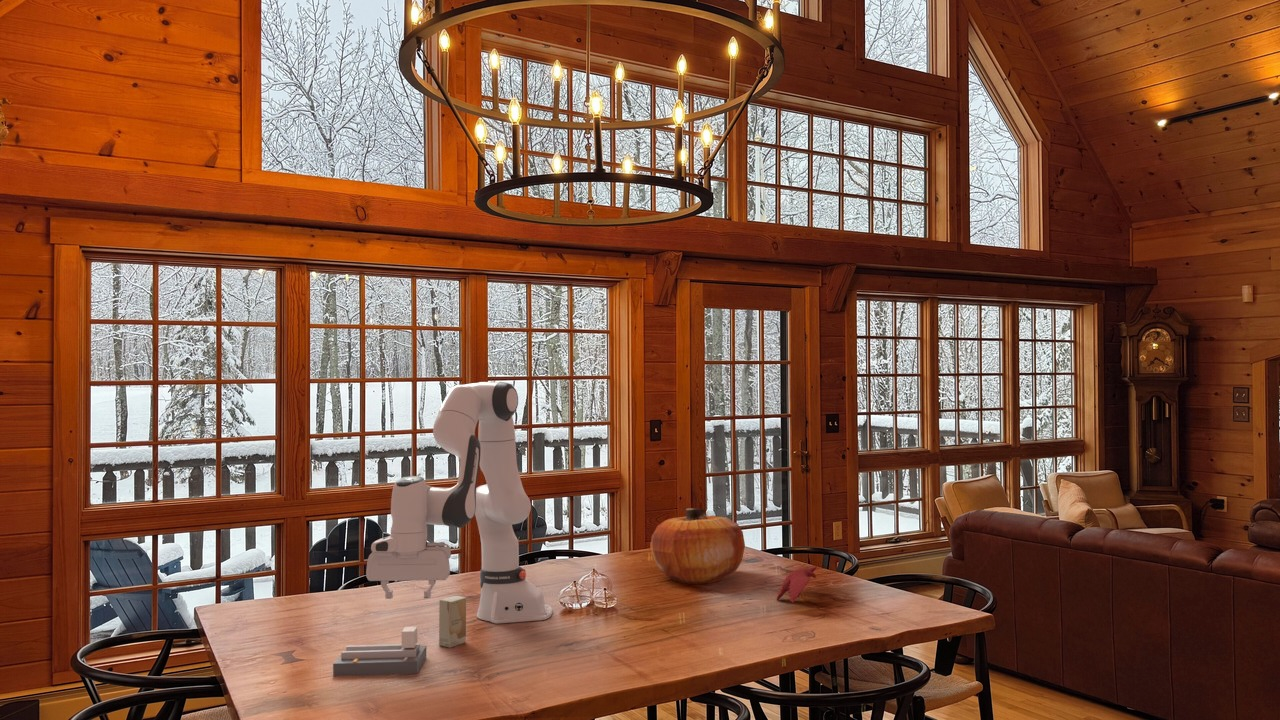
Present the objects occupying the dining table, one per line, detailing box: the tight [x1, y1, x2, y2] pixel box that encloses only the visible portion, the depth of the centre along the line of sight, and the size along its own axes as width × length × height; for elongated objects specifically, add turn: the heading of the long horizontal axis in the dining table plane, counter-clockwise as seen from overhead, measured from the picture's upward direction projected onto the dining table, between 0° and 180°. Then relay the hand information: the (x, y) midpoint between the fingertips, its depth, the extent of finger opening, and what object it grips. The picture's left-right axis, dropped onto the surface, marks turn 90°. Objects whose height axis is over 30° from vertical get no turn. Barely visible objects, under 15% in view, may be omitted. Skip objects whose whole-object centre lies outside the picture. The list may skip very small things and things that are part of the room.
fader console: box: [332, 643, 427, 677], centre depth 215 cm, size 20×12×5 cm, turn 93°
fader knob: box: [400, 626, 419, 654], centre depth 216 cm, size 4×4×6 cm
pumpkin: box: [650, 507, 746, 585], centre depth 305 cm, size 33×33×25 cm
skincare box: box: [438, 595, 467, 648], centre depth 233 cm, size 6×4×12 cm
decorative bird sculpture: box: [776, 566, 817, 603], centre depth 273 cm, size 28×9×15 cm
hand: (408, 598), depth 216 cm, fingers open, 8 cm apart
